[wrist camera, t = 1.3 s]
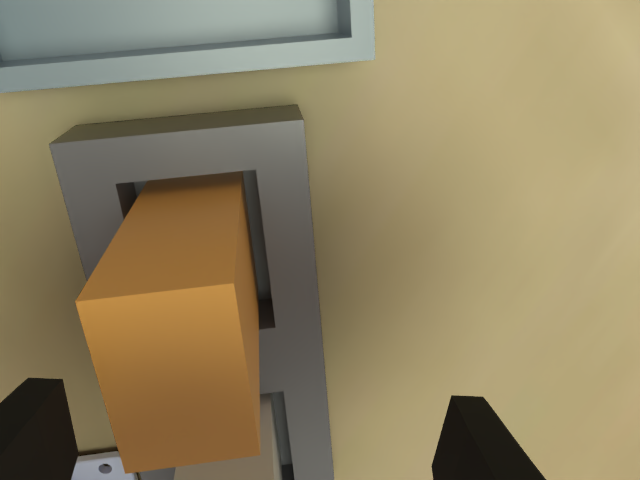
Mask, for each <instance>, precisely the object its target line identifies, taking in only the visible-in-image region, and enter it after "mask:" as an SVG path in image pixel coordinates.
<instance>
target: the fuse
mask: <svg viewBox="0 0 640 480" xmlns="http://www.w3.org/2000/svg"><path fill="white" fill-rule="evenodd" d="M174 480H282V465H281V453H280V445H279V438H278V430H277V423H276V415H275V408H274V401H273V393H265V394H260V455H259V456H252V457H244V458H237V459H230V460H223V461H215V462H208V463H201V464H194V465H186V466H179V467H176V469H175V475H174Z"/></svg>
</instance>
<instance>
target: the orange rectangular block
mask: <svg viewBox="0 0 640 480" xmlns="http://www.w3.org/2000/svg"><path fill="white" fill-rule="evenodd" d="M75 303H76V306H77V310H78V313H79V317H80V320H81V324H82V327H83V331H84V334H85V337H86V341H87V344H88V348H89V351H90V355H91V358H92V361H93V365H94V368H95V372H96V375H97V379H98V382H99V386H100V389H101V392H102V396H103V399H104V403H105V406H106V410H107V413H108V417H109V420H110V423H111V427H112V430H113V434H114V437H115V441H116V444H117V448H118V451H119V454H120V458H121V461H122V465H123V468H124V472H125V474H128V473H135V472H143V471H150V470H157V469H164V468H172V467H179V466H186V465H194V464H201V463H208V462H215V461H223V460H230V459H237V458H244V457H252V456H259V455H260V382H259V305H258V282H257V274H256V267H255V259H254V252H253V245H252V237H251V230H250V222H249V215H248V207H247V200H246V193H245V185H244V178H243V171H237V172H227V173H217V174H207V175H197V176H187V177H177V178H168V179H158V180H148V181H147V182H146V184H145V186H144V187H143V189H142V191H141V192H140V194H139V196H138V197H137V199H136V201H135V202H134V204H133V206H132V207H131V209H130V211H129V212H128V214H127V216H126V217H125V219H124V221H123V223H122V224H121V226H120V228H119V229H118V231H117V233H116V234H115V236H114V238H113V239H112V241H111V243H110V244H109V246H108V248H107V249H106V251H105V253H104V254H103V256H102V258H101V259H100V261H99V263H98V264H97V266H96V268H95V269H94V271H93V273H92V274H91V276H90V278H89V279H88V281H87V283H86V284H85V286H84V288H83V289H82V291H81V293H80V294H79V296H78V298H77V299H76V301H75Z"/></svg>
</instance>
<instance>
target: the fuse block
mask: <svg viewBox="0 0 640 480" xmlns="http://www.w3.org/2000/svg"><path fill="white" fill-rule="evenodd" d="M49 146H50V150H51V154H52V157H53V161H54V164H55V168H56V172H57V175H58V179H59V183H60V186H61V190H62V193H63V197H64V201H65V204H66V208H67V211H68V215H69V219H70V222H71V226H72V230H73V233H74V237H75V240H76V244H77V248H78V251H79V255H80V259H81V262H82V266H83V269H84V273H85V277H86V280H87V281H88V279H89V278H90V276H91V274H92V273H93V271H94V269H95V268H96V266H97V264H98V263H99V261H100V259H101V258H102V256H103V254H104V253H105V251H106V249H107V248H108V246H109V244H110V243H111V241H112V239H113V238H114V236H115V234H116V233H117V231H118V229H119V228H120V226H121V224H122V223H123V221H124V219H125V217H126V216H127V214H128V212H129V211H130V209H131V207H132V206H133V204H134V202H135V201H136V199H137V197H138V196H139V194H140V192H141V191H142V189H143V187H144V186H145V184H146V182H147V181H148V180H158V179H168V178H177V177H187V176H197V175H207V174H217V173H227V172H237V171H243V178H244V185H245V193H246V200H247V207H248V215H249V222H250V230H251V237H252V245H253V252H254V259H255V267H256V274H257V282H258V305H259V382H260V394H265V393H273V401H274V408H275V415H276V423H277V430H278V438H279V445H280V453H281V465H282V480H334V471H333V460H332V448H331V436H330V424H329V413H328V401H327V389H326V377H325V366H324V354H323V342H322V330H321V318H320V307H319V295H318V283H317V271H316V260H315V248H314V236H313V224H312V213H311V201H310V189H309V177H308V166H307V154H306V142H305V130H304V119H303V117H302V115H301V112H300V110H299V107H298V105H288V106H277V107H267V108H256V109H245V110H235V111H224V112H213V113H203V114H192V115H181V116H170V117H160V118H149V119H138V120H128V121H117V122H106V123H96V124H85V125H76V126H74V127H73V128H71V129H70V130H69V131H67V132H66V133H64V134H63V135H61V136H60V137H58V138H57V139H55V140H54V141H53V142H51V143H50V144H49ZM175 469H176V467H172V468H164V469H157V470H150V471H143V472H140V476H141V480H174V475H175Z"/></svg>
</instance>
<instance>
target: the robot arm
mask: <svg viewBox="0 0 640 480" xmlns="http://www.w3.org/2000/svg"><path fill="white" fill-rule="evenodd" d="M78 455H79V454H78V449H77V444H76V440H75V435H74V430H73V426H72V421H71V416H70V412H69V407H68V402H67V398H66V393H65V388H64V384H63V379H44V378H28V379H26V380H25V381H24V382H23V383H22V384H21V385H19V386H18V387H17V388H16V389H15V390H14V391H13V392H12V393H11V394H10V395H8V396H7V397H6V398H5V399H4V400H3V401H2V402H1V403H0V480H138V477H137V474H136V472H135V473H128V474H125V472H124V468H123V465H122V461H121V458H120V454H119V451H115V452H107V453H100V454H93V455H85V456H78ZM103 464H108V465H110V466H105V465H103ZM432 472H433V480H546V479H545V478H544V476H543V475H542V474H541V473H540V471H539V470H538V469H537V467H536V466H535V465H534V464H533V462H532V461H531V460H530V458H529V457H528V456H527V454H526V453H525V452H524V450H523V449H522V448H521V447H520V445H519V444H518V443H517V441H516V440H515V439H514V437H513V436H512V435H511V433H510V432H509V430H508V429H507V428H506V426H505V425H504V424H503V422H502V421H501V420H500V418H499V417H498V416H497V414H496V413H495V412H494V410H493V409H492V407H491V406H490V405H489V403H488V402H487V401H486V400H485V399H484V397H475V396H451V399H450V403H449V406H448V410H447V413H446V417H445V420H444V424H443V428H442V431H441V435H440V438H439V442H438V445H437V449H436V453H435V456H434V460H433V463H432Z"/></svg>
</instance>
